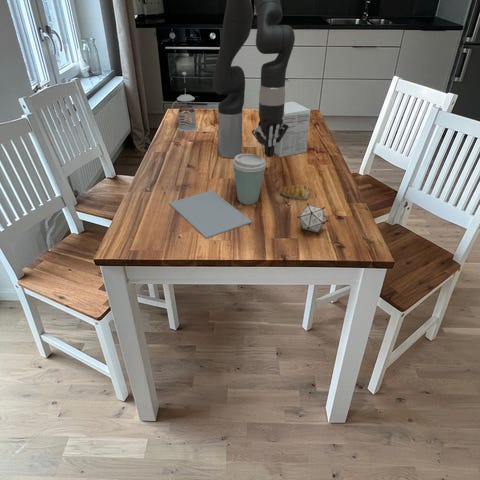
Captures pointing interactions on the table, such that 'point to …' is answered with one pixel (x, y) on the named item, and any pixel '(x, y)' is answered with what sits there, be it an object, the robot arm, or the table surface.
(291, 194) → the pastry
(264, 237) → the table surface
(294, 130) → the supplement box
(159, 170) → the table surface
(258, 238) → the table surface
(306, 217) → the game die
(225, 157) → the robot arm
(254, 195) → the disposable coffee cup
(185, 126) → the french press
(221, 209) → the mat
